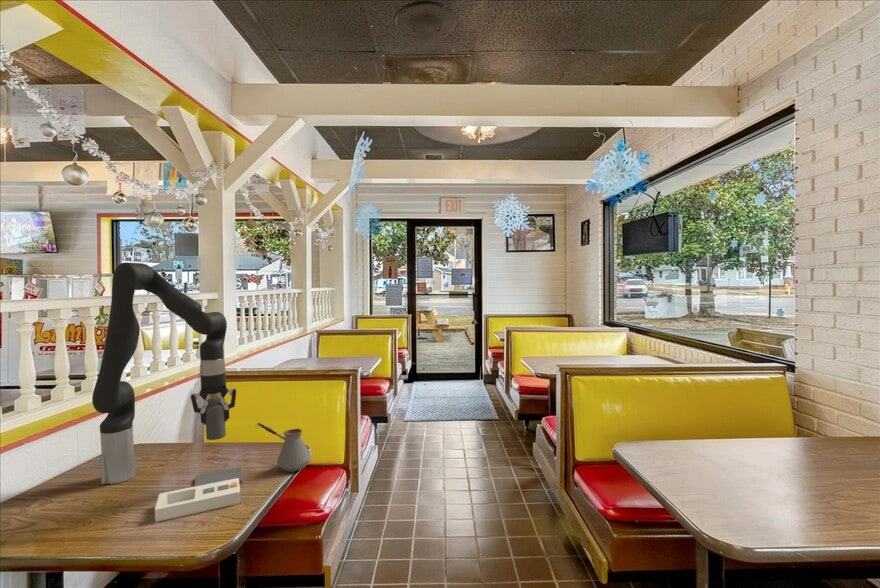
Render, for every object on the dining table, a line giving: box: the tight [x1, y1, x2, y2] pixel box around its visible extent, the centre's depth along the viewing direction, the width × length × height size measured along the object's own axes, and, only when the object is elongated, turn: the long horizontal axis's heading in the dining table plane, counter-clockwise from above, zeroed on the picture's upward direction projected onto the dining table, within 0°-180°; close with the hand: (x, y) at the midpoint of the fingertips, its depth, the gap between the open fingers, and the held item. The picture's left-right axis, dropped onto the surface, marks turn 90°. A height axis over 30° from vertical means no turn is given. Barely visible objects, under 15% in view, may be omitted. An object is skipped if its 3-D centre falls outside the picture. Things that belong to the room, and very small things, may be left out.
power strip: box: [154, 478, 242, 523], centre depth 139 cm, size 22×11×4 cm, turn 116°
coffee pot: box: [255, 422, 312, 473], centre depth 166 cm, size 21×12×15 cm, turn 71°
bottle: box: [205, 393, 227, 441], centre depth 154 cm, size 6×6×15 cm
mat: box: [193, 466, 243, 487], centre depth 155 cm, size 14×12×1 cm
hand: (215, 422), depth 154 cm, fingers closed on bottle, 6 cm apart
